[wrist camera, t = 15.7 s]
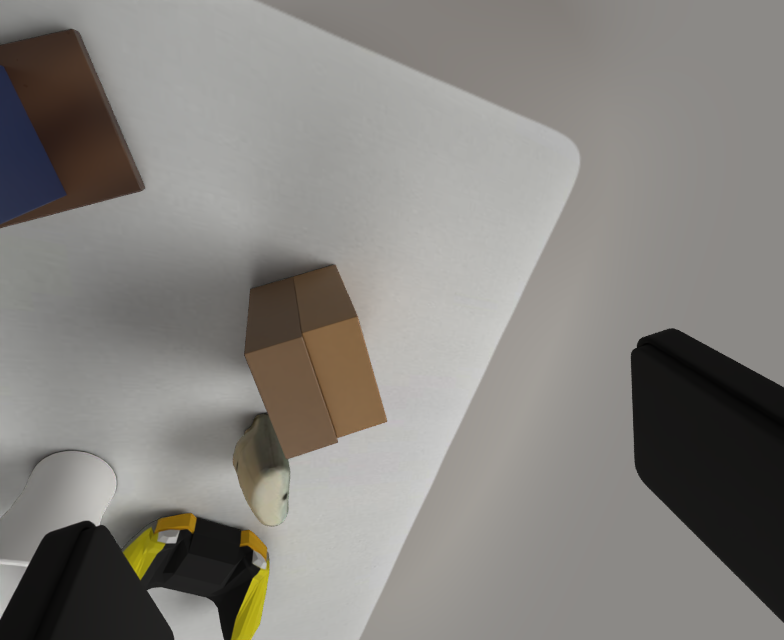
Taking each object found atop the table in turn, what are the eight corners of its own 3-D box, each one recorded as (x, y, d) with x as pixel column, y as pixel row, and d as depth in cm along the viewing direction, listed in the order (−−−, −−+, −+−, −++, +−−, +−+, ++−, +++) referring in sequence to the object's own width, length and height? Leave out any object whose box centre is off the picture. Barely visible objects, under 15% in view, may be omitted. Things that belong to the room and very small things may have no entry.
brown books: (250, 288, 41) (243, 354, 30) (335, 264, 42) (358, 319, 31) (281, 373, 44) (286, 460, 33) (359, 349, 45) (389, 426, 34)
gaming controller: (248, 609, 53) (294, 538, 51) (246, 661, 48) (296, 584, 46) (96, 575, 48) (140, 493, 46) (76, 629, 43) (125, 540, 41)
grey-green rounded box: (308, 447, 48) (316, 508, 40) (259, 476, 48) (258, 542, 40) (274, 403, 45) (276, 459, 38) (223, 433, 45) (214, 495, 38)
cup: (129, 421, 43) (74, 546, 31) (152, 520, 47) (112, 665, 35) (-15, 438, 41) (-135, 579, 29) (22, 540, 45) (-69, 702, 33)
